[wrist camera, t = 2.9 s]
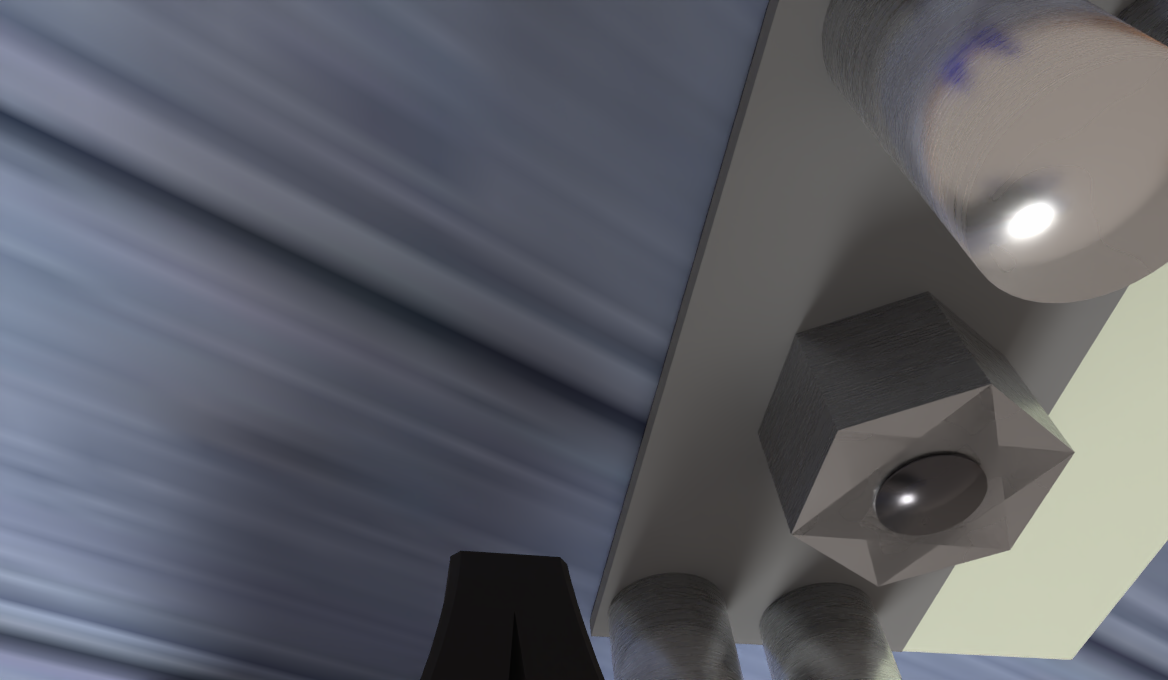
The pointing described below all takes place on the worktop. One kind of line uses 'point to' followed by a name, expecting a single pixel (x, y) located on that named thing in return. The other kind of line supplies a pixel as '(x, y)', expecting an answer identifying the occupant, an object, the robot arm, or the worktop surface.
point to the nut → (906, 442)
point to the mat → (851, 286)
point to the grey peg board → (960, 241)
